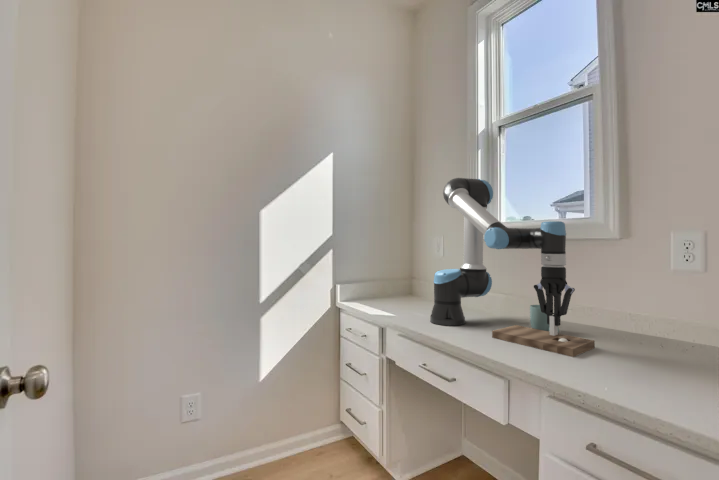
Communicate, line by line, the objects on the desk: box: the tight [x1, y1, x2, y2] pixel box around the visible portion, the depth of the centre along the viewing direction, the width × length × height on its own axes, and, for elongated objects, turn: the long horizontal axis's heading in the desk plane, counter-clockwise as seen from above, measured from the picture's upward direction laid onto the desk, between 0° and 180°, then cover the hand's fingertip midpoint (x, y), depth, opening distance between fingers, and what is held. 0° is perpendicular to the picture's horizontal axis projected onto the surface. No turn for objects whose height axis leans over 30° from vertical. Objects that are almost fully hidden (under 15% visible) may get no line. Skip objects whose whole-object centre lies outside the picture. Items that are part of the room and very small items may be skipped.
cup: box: [529, 304, 550, 332], centre depth 141 cm, size 8×8×10 cm
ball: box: [558, 338, 568, 342], centre depth 119 cm, size 3×3×3 cm
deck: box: [491, 324, 596, 358], centre depth 125 cm, size 28×16×2 cm, turn 36°
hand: (553, 334), depth 121 cm, fingers closed
